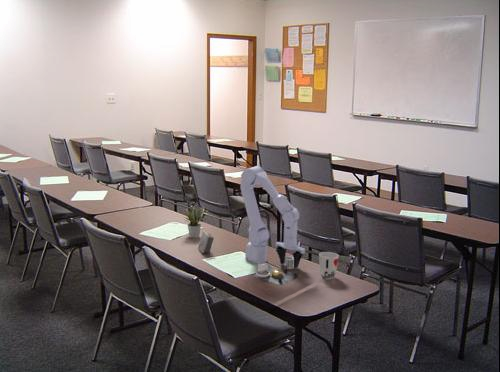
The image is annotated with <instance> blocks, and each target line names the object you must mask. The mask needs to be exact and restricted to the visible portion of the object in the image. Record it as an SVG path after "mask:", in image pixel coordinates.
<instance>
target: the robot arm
mask: <svg viewBox="0 0 500 372" xmlns="http://www.w3.org/2000/svg"><path fill="white" fill-rule="evenodd" d="M240 177H241V180H240V185H239V187H240V191H241V196H242V199H243V204H244V206H245V210H246V211H245V212H246V213H247V219H248V222H249V228H248V243H247V244H246V246H245V249H244V251H245V253H244V255H245V258H244V259H245V260H246V261H248V262H249V261H250V262H252V263H255V264H258V263H267V258H268V257H267V255H268V254H267V252H268V251H267V250H268V240H269V239H270V236H271V235H270V231H269V229H268V228H267V225H266V223H264V222H263V221H262V218H261V214H260V210H259V207H258V206H259V205H258V203H257V199H256V194H255V191H254V188H255V186H256V185H258V186H261V187H263V189H264V191H265V192H266V193H268V195H269V196H270V197H271V198H272V204H273V205H274V206H275V208H276V209H277V210H278V212H279V213H280V214H281V217H282V221H283V224H284V225H283V226H284V227H283V242H280V241H276V242H275V245H274V246H275V248H276V249H275V251H276V253H277V255H278V259H279V261H280V265H284V258H285V257H286V253H287V250H288V251H292V252H293V253H292V257H294V269H297V268H298V267H299V264H300V261H301V259H302V257H303V255H304V254H305V253H306V248H305V247H302V246H299V245H297V242H298V241H297V240H298V220H299V218H300V217H301V216H300V215H301V214H300V211H299V209H298V208H296V207H295V206H293V205H292V204H291V203H290V202H289V200H288V197H287V196H286V195H284V194H280V193H279V191H278V190H277V189H276V187H275V186H274V184H273V183H272V181H271V180H270V178H269V177H268V175H267V172H266V171H265V170H264V169H263V167H261V165H255V166H252V167H250V168H249V167H248V168H247V167H246V168H245V169H244V170H243V171H242V173H241V174H240Z"/></svg>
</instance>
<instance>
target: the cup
mask: <svg viewBox="0 0 500 372" xmlns="http://www.w3.org/2000/svg"><path fill="white" fill-rule="evenodd" d="M318 257H319V258H318V260H319V261H318V262H319V272H320V275H321V276H322V277H323V279H324V280H333V279H334V278H335V275H336V273H337V269H338V263H339V254H338V253H336V252H333V251H322V252H320V253H318Z"/></svg>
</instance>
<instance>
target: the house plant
mask: <svg viewBox="0 0 500 372" xmlns="http://www.w3.org/2000/svg"><path fill="white" fill-rule="evenodd" d="M204 208H205V207H204V206H203V207H201V208H200V209H199V210H198V211H197V210H196V208H195V207H194V206H192V208H191V210H192V213H191V211H189V210H188V209H187V208H185V211H187V212H186V215H187V216H186V217H185V219H186V220H185V222H188V224H187V229H188V235H189V236H188V237H190V236H191V238H199V237H200V232H201V229H202V228H201V227H202V224H201V223H199V222H201V219H202V217H203V216H204V215H203V213H204V212H209V210H208V209H207V210H206V209H205V210H203V209H204ZM185 211H183V213H185ZM204 220H206V219H205V218H203V220H202V222H204ZM204 223H205V222H204ZM198 236H199V237H198Z"/></svg>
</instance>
